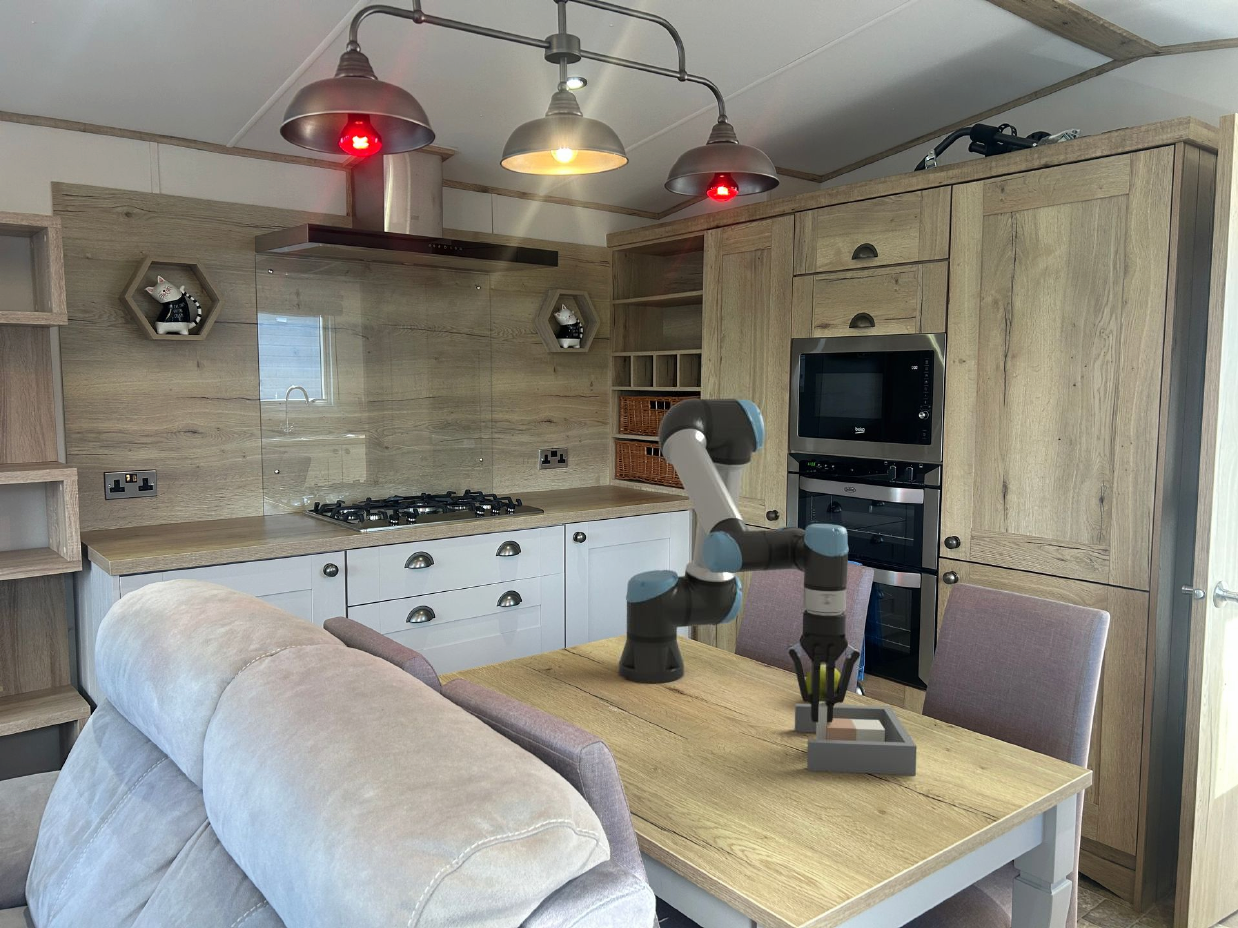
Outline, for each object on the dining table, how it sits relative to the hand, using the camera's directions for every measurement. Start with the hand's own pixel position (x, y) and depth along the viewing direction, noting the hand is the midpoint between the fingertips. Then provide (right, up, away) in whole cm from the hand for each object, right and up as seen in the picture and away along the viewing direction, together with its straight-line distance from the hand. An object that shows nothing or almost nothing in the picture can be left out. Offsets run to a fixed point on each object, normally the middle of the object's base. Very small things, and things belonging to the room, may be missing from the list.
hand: (821, 738), depth 165 cm
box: (+5, -2, 0) cm, 6 cm away
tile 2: (+8, -2, 0) cm, 8 cm away
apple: (+6, -1, +26) cm, 27 cm away
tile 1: (+3, -2, 0) cm, 4 cm away
